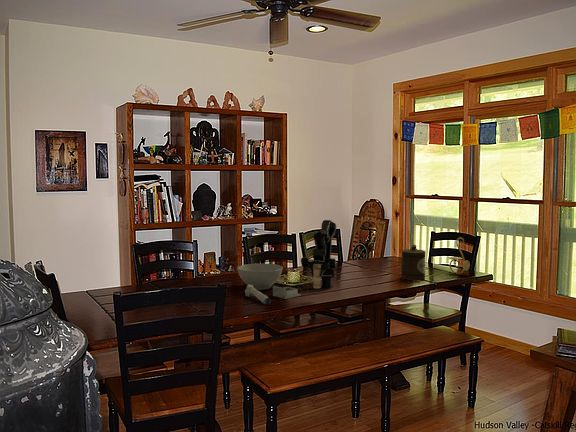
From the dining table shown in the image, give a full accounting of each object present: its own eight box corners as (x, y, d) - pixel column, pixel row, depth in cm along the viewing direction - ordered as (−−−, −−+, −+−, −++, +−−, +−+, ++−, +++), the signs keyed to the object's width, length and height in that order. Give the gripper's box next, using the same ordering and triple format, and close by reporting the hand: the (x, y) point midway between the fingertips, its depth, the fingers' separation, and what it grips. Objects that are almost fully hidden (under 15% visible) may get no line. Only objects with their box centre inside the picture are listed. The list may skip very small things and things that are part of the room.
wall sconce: (470, 275, 338) (471, 237, 336) (461, 276, 333) (462, 238, 331) (453, 271, 349) (454, 235, 347) (444, 273, 344) (445, 236, 342)
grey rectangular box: (288, 292, 289) (288, 282, 288) (301, 295, 281) (301, 285, 281) (272, 295, 280) (272, 285, 280) (285, 299, 273) (285, 288, 273)
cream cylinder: (315, 286, 273) (315, 264, 272) (322, 287, 271) (322, 265, 270) (311, 287, 269) (311, 265, 268) (318, 288, 267) (318, 266, 266)
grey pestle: (263, 298, 260) (243, 282, 281) (262, 310, 261) (243, 294, 283) (272, 297, 262) (252, 281, 284) (271, 309, 264) (251, 292, 285)
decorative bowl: (291, 285, 306) (291, 265, 305) (266, 294, 283) (266, 273, 282) (254, 281, 320) (254, 262, 319) (228, 289, 297) (228, 268, 296)
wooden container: (424, 281, 317) (424, 246, 315) (400, 280, 322) (400, 245, 320) (425, 277, 331) (426, 243, 329) (402, 275, 336) (403, 242, 334)
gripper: (301, 242, 274) (296, 266, 264) (335, 243, 270) (332, 267, 260) (304, 254, 282) (300, 278, 273) (337, 256, 278) (334, 279, 268)
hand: (316, 275), depth 268 cm, fingers closed on cream cylinder, 4 cm apart
